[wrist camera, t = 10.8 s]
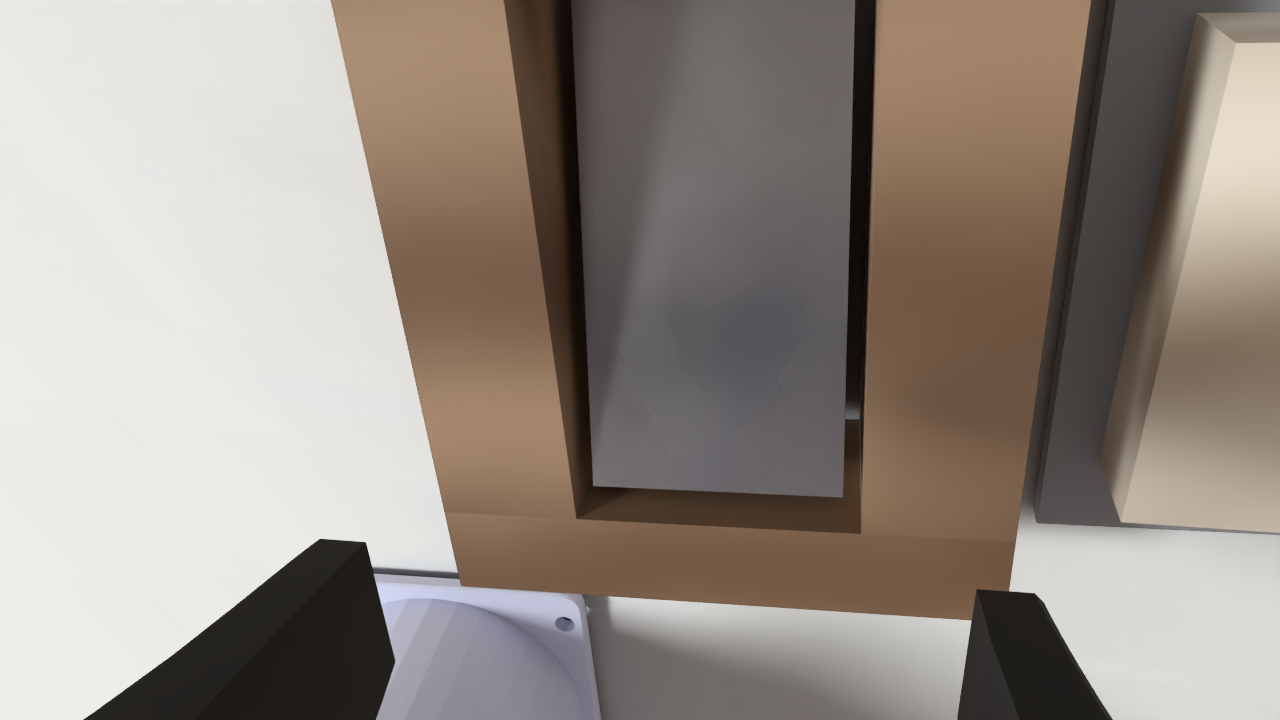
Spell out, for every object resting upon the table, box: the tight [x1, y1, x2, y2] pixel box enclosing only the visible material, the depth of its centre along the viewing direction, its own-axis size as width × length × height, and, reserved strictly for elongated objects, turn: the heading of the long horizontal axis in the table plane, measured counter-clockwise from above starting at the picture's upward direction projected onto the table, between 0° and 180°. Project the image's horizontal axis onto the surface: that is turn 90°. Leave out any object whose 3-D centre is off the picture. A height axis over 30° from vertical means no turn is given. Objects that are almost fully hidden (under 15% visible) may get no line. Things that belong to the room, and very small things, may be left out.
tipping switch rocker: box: [571, 0, 855, 497], centre depth 18 cm, size 9×5×1 cm, turn 5°
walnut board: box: [331, 0, 1091, 620], centre depth 19 cm, size 15×11×4 cm
